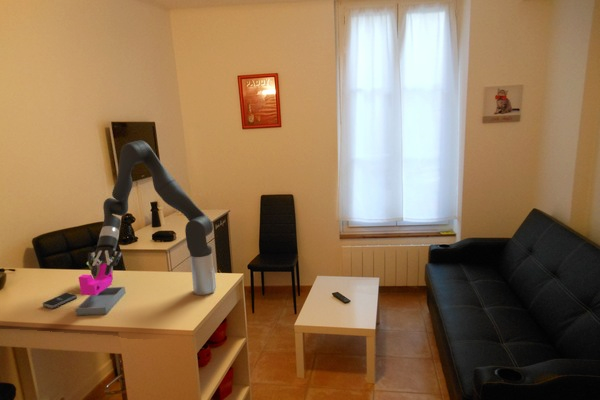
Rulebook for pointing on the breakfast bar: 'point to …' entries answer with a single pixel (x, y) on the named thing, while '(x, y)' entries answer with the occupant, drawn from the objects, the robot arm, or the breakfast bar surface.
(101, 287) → the toy block
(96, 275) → the plant pot
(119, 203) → the robot arm
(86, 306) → the tray
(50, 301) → the external hard drive
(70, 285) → the breakfast bar surface
